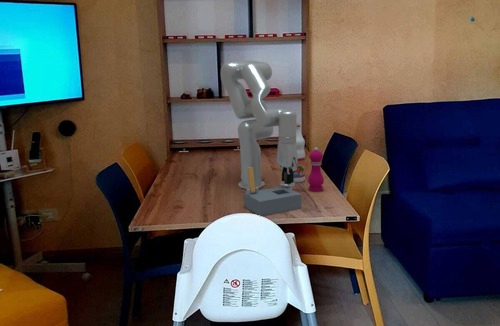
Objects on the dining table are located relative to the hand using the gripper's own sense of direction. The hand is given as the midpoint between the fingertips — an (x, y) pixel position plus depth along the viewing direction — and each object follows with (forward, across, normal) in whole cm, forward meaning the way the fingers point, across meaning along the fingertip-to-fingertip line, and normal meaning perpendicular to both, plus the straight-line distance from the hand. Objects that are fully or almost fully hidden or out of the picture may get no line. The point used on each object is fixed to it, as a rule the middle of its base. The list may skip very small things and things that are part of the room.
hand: (287, 181), depth 209 cm
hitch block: (+8, +7, -12) cm, 15 cm away
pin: (+8, 0, 0) cm, 8 cm away
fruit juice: (+8, -24, +19) cm, 32 cm away
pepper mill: (+8, -5, +18) cm, 20 cm away
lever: (-4, +3, -19) cm, 19 cm away
